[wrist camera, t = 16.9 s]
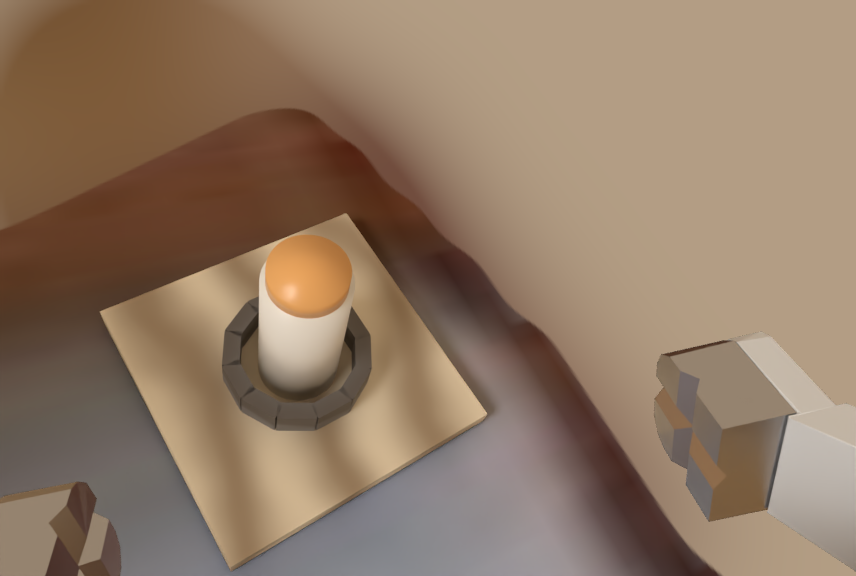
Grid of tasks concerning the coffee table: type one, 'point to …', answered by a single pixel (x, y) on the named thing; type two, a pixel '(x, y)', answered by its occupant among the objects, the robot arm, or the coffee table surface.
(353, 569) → the coffee table surface
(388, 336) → the board
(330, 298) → the bottle
